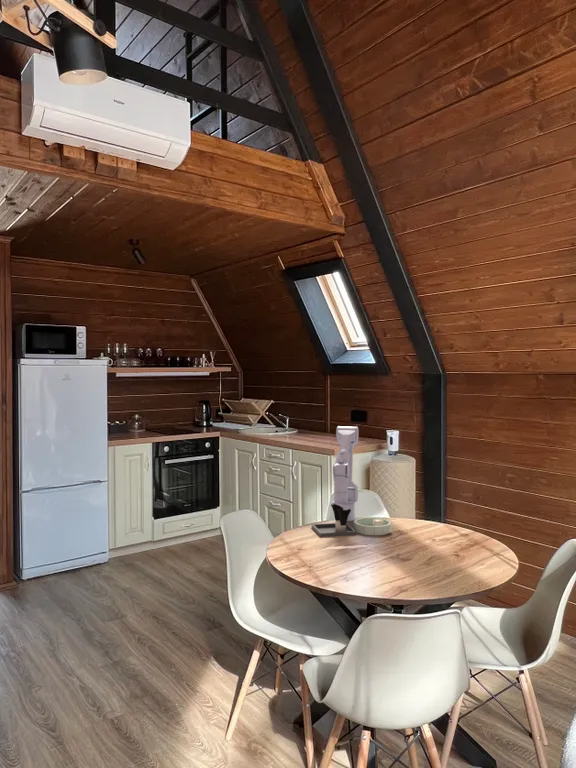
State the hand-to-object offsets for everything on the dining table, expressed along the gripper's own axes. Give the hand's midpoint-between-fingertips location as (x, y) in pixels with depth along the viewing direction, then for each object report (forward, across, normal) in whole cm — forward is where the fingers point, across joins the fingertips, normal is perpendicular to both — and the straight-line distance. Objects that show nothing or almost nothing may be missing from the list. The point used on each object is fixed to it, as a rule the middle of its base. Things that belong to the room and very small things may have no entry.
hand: (340, 523), depth 247 cm
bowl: (+4, +1, +14) cm, 15 cm away
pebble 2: (+3, +1, +16) cm, 17 cm away
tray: (+4, 0, -3) cm, 5 cm away
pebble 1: (+3, 0, 0) cm, 3 cm away
